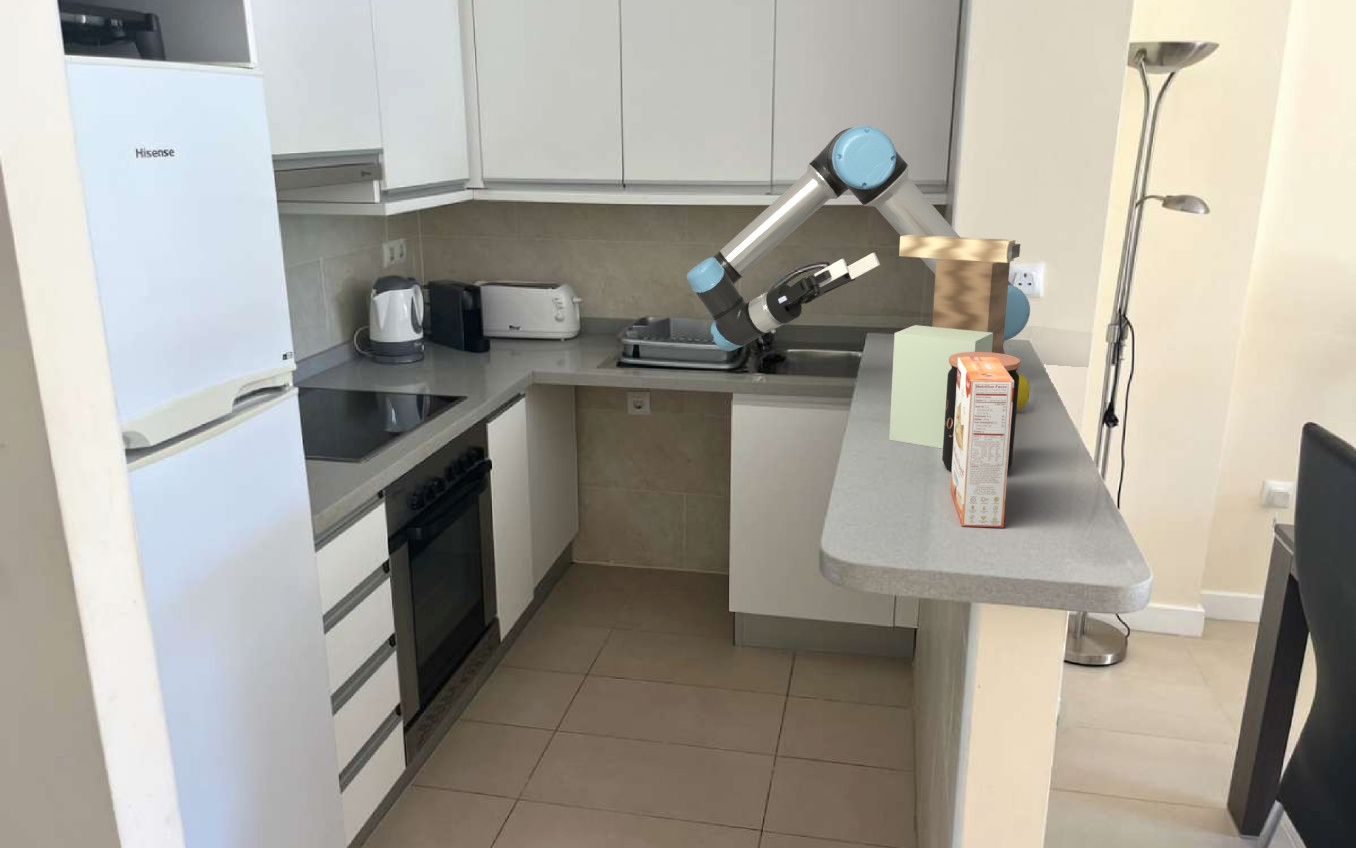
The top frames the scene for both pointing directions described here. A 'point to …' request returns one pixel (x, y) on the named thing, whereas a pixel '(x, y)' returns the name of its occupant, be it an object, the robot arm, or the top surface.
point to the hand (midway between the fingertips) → (861, 261)
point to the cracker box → (981, 441)
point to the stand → (972, 297)
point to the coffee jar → (1006, 360)
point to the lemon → (1022, 392)
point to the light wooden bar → (959, 248)
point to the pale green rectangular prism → (926, 380)
